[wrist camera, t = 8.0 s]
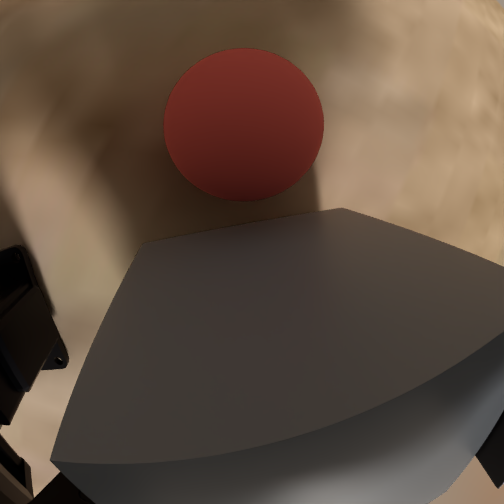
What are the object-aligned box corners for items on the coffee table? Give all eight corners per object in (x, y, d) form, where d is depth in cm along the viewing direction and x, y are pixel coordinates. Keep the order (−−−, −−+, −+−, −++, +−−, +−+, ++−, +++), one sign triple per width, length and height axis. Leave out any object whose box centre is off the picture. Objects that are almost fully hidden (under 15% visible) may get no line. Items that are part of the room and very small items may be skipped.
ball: (154, 128, 5) (158, 29, 7) (176, 239, 10) (167, 133, 11) (379, 121, 6) (309, 28, 8) (317, 220, 11) (281, 124, 12)
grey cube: (190, 400, 12) (216, 576, 4) (142, 243, 10) (49, 460, 2) (343, 361, 14) (446, 491, 5) (342, 207, 11) (551, 289, 3)
